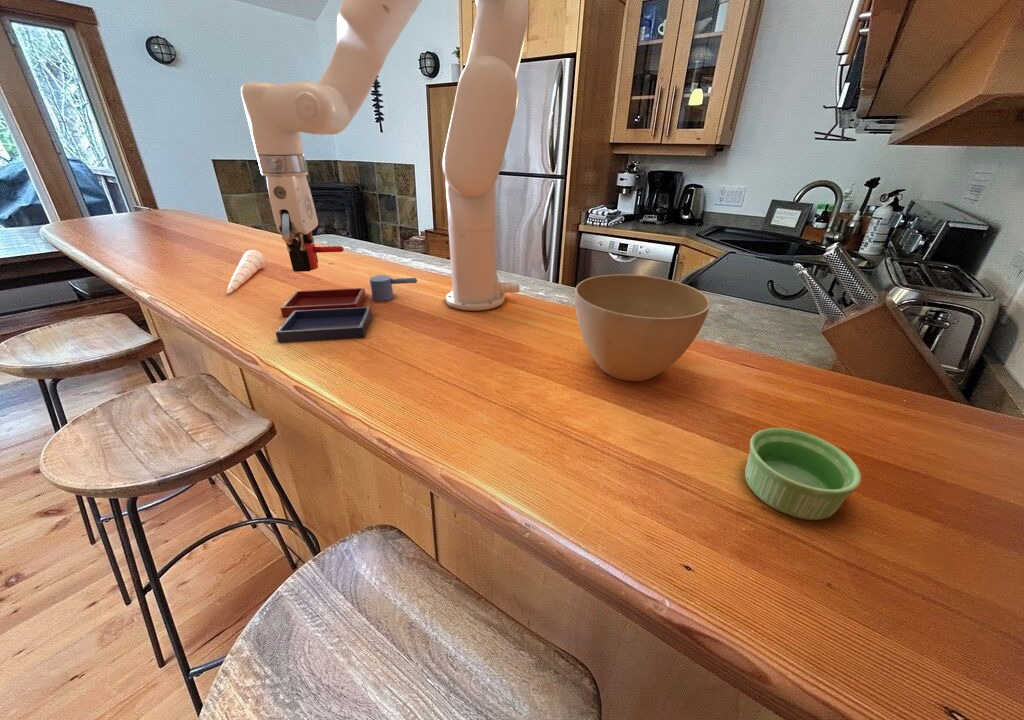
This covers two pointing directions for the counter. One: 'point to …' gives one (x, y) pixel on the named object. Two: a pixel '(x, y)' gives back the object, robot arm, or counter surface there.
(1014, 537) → the counter surface
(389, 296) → the blue scoop
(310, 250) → the red scoop
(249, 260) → the unicorn horn
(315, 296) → the red tray
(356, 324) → the blue tray
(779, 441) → the ramekin
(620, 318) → the tan bowl
